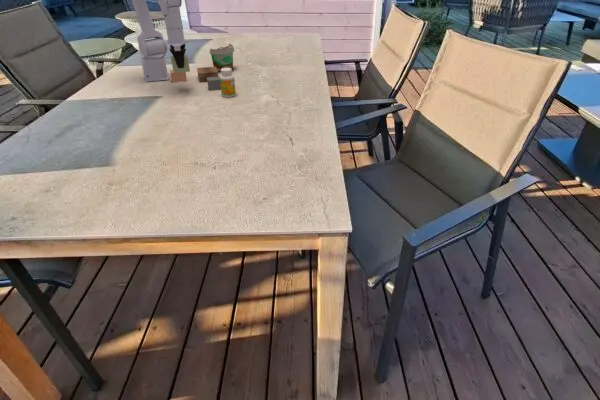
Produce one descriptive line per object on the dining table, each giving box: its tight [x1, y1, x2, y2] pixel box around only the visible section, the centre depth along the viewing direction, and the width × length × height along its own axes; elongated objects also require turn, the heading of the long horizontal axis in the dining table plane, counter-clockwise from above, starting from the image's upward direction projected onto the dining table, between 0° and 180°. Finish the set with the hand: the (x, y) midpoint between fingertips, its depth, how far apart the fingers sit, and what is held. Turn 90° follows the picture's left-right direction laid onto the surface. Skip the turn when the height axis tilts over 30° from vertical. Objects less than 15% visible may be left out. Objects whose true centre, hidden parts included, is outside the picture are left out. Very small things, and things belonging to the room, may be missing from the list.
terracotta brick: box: [169, 69, 188, 83], centre depth 158 cm, size 6×4×4 cm, turn 109°
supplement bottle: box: [219, 68, 237, 98], centre depth 142 cm, size 5×5×10 cm
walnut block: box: [196, 66, 219, 83], centre depth 160 cm, size 8×8×4 cm
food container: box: [209, 43, 235, 73], centre depth 168 cm, size 12×6×10 cm, turn 143°
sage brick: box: [170, 54, 191, 73], centre depth 143 cm, size 6×4×5 cm, turn 106°
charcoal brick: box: [206, 76, 221, 91], centre depth 150 cm, size 6×4×4 cm, turn 104°
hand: (180, 66), depth 144 cm, fingers closed on sage brick, 4 cm apart
